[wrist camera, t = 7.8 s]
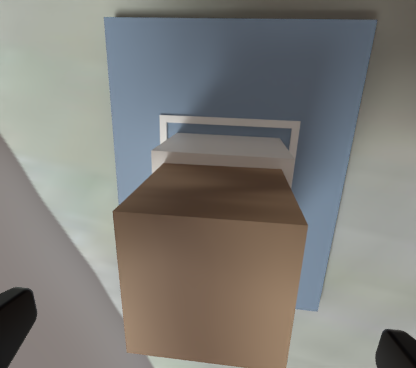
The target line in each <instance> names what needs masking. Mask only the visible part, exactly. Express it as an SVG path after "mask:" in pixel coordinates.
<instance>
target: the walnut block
mask: <svg viewBox="0 0 416 368" xmlns="http://www.w3.org/2000/svg"><path fill="white" fill-rule="evenodd" d="M113 220H114V230H115V240H116V250H117V260H118V270H119V280H120V289H121V299H122V309H123V319H124V329H125V339H126V349H127V353H134V354H142V355H150V356H157V357H165V358H173V359H181V360H189V361H197V362H205V363H212V364H220V365H228V366H236V367H244V368H286V365H287V358H288V352H289V346H290V339H291V333H292V326H293V320H294V314H295V307H296V301H297V294H298V288H299V282H300V275H301V269H302V262H303V256H304V250H305V243H306V237H307V230H308V224H307V222H306V220H305V218H304V215H303V213H302V211H301V209H300V207H299V205H298V203H297V201H296V198H295V196H294V194H293V192H292V190H291V188H290V186H289V184H288V181H287V179H286V177H285V175H284V173H283V171H282V169H269V168H249V167H230V166H211V165H192V164H173V163H163V164H162V165H161V166H160V167H159V168H158V169H157V170H156V171H155V172H154V173H153V174H151V175H150V176H149V177H148V178H147V179H146V180H145V181H144V182H143V183H142V184H141V185H140V186H139V187H138V188H137V189H136V190H135V191H134V192H132V193H131V194H130V195H129V196H128V197H127V198H126V199H125V200H124V201H123V202H122V203H121V204H120V205H119V206H118V207H117V208H116V209H115V210H114V211H113Z"/></svg>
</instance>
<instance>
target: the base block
mask: <svg viewBox="0 0 416 368" xmlns="http://www.w3.org/2000/svg"><path fill="white" fill-rule="evenodd" d="M151 161H152V174H153V173H154V172H155V171H156V170H157V169H158V168H159V167H160V166H161V165H162V164H163V163H173V164H192V165H211V166H230V167H249V168H269V169H282V171H283V173H284V175H285V177H286V179H287V181H288V184H289V186H290V188H291V183H292V176H293V168H294V161H295V159H294V157H293V156H292V154H291V153H290V152H289V150H288V149H287V148H286V146H285V145H284V143H283V142H282V141H281V139H280V138H269V137H250V136H231V135H212V134H192V133H176V134H175V135H173V136H172V137H170V138H169V139H167V140H166V141H164V142H163V143H161V144H160V145H158V146H157V147H156V148H154V149H153V150H151Z"/></svg>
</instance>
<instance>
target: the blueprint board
mask: <svg viewBox="0 0 416 368" xmlns="http://www.w3.org/2000/svg"><path fill="white" fill-rule="evenodd" d="M104 25H105V37H106V50H107V62H108V75H109V87H110V100H111V112H112V125H113V137H114V150H115V162H116V175H117V187H118V200H119V205H120V204H121V203H122V202H123V201H124V200H125V199H126V198H127V197H128V196H129V195H130V194H131V193H132V192H134V191H135V190H136V189H137V188H138V187H139V186H140V185H141V184H142V183H143V182H144V181H145V180H146V179H147V178H148V177H149V176H150V175H151V174H152V161H151V150H153V149H154V148H156V147H157V146H158V145H160V144H161V143H163V142H164V141H166V140H167V139H169V138H170V137H172V136H173V135H175V134H176V133H192V134H212V135H231V136H250V137H269V138H280V139H281V141H282V142H283V143H284V145H285V146H286V148H287V149H288V150H289V152H290V153H291V154H292V156H293V157H294V159H295V161H294V168H293V176H292V183H291V190H292V192H293V194H294V196H295V198H296V201H297V203H298V205H299V207H300V209H301V211H302V213H303V215H304V218H305V220H306V222H307V224H308V230H307V237H306V243H305V250H304V256H303V262H302V269H301V275H300V282H299V288H298V294H297V301H296V307H295V309H300V310H309V311H318V307H319V302H320V297H321V292H322V287H323V282H324V278H325V273H326V268H327V263H328V258H329V253H330V248H331V244H332V239H333V234H334V229H335V224H336V219H337V214H338V210H339V205H340V200H341V195H342V190H343V185H344V180H345V176H346V171H347V166H348V161H349V156H350V151H351V146H352V142H353V137H354V132H355V127H356V122H357V117H358V112H359V107H360V103H361V98H362V93H363V88H364V83H365V78H366V73H367V69H368V64H369V59H370V54H371V49H372V44H373V39H374V35H375V30H376V25H377V20H343V19H239V18H134V17H104Z"/></svg>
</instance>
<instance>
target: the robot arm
mask: <svg viewBox="0 0 416 368" xmlns="http://www.w3.org/2000/svg"><path fill="white" fill-rule="evenodd" d="M36 317H37V309H36V304H35V300H34V295H33V291H32V290H31V289H29V288H22V287H15V288H12V289H10V290H7V291H5V292H3V293H1V294H0V368H8V366H9V365H10V363H11V361H12V360H13V358H14V356H15V355H16V353H17V351H18V350H19V347H20V346H21V344H22V343H23V341H24V339H25V338H26V336H27V334H28V333H29V331H30V329H31V328H32V326H33V324H34V322H35V320H36ZM375 359H376V365H377V368H416V340H415V339H414V338H413V337H411V336H410V335H409V334H407V333H406V332H404V331H401V330H392V329H385V330H384V331H383V332H382V335H381V338H380V341H379V345H378V348H377V351H376V356H375Z"/></svg>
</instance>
